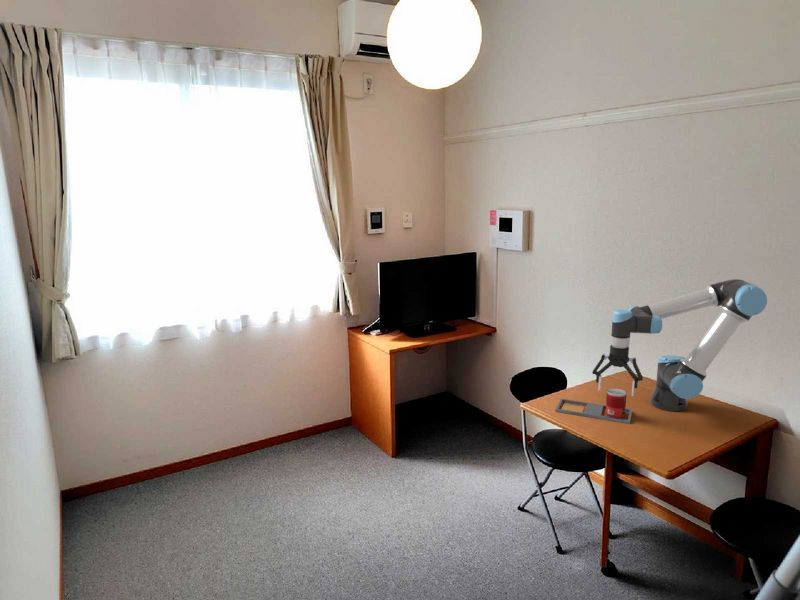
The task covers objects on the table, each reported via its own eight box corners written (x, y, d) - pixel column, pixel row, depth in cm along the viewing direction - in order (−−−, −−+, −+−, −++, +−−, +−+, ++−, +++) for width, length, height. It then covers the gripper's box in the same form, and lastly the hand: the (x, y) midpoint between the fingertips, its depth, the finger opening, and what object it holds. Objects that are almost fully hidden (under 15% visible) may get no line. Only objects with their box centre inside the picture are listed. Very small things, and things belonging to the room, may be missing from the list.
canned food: (626, 419, 237) (628, 395, 235) (607, 418, 238) (608, 394, 236) (622, 411, 244) (624, 388, 242) (603, 411, 246) (605, 388, 243)
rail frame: (632, 411, 244) (632, 409, 244) (629, 423, 233) (630, 421, 233) (560, 400, 258) (560, 398, 257) (555, 411, 246) (555, 409, 246)
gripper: (652, 346, 232) (647, 393, 237) (590, 339, 243) (587, 384, 248) (651, 352, 226) (646, 400, 230) (587, 344, 236) (584, 390, 241)
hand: (615, 392), depth 239 cm, fingers open, 13 cm apart
